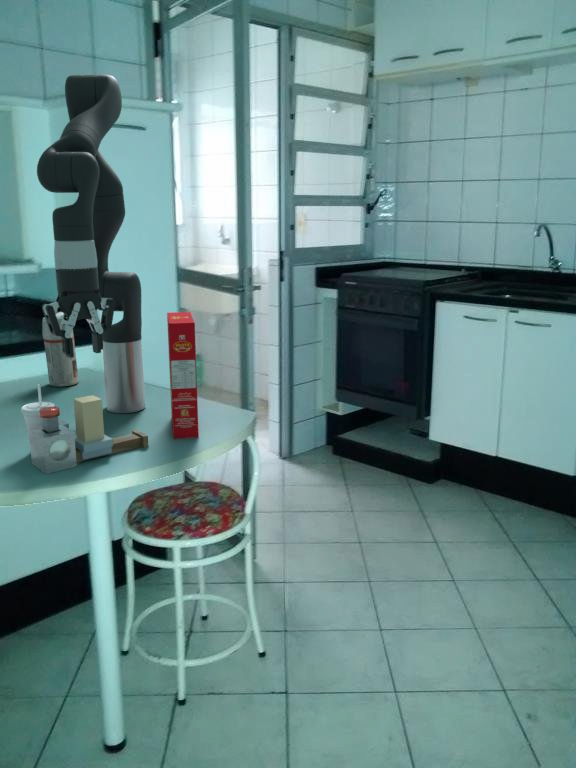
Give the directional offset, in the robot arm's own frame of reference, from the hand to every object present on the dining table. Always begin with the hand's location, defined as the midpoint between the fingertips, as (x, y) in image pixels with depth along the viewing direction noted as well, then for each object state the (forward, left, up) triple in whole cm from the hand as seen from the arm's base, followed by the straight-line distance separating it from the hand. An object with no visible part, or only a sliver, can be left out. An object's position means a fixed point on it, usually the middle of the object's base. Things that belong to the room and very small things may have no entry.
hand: (83, 354), depth 132 cm
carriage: (-4, 0, -20) cm, 21 cm away
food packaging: (-3, +24, -21) cm, 32 cm away
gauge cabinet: (0, -8, -21) cm, 22 cm away
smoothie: (-9, -7, -21) cm, 24 cm away
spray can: (-58, +19, -21) cm, 65 cm away
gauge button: (0, -8, -17) cm, 18 cm away
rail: (0, +3, -21) cm, 21 cm away
